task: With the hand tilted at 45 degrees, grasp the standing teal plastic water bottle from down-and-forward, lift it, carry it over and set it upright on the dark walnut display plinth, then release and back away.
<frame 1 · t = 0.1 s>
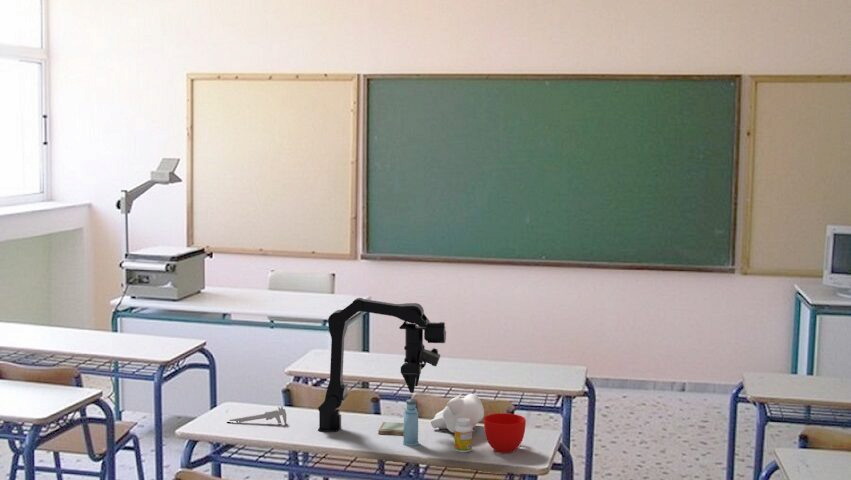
hand: (413, 389, 330), 15 cm above the table, tool pointing down, fingers open, 9 cm apart
ceramic cup: (505, 448, 316), on the table
plinth: (395, 430, 334), on the table
supplement bottle: (463, 450, 314), on the table
caliper: (256, 424, 341), on the table
fox head: (455, 431, 335), on the table
water bottle: (410, 443, 320), on the table
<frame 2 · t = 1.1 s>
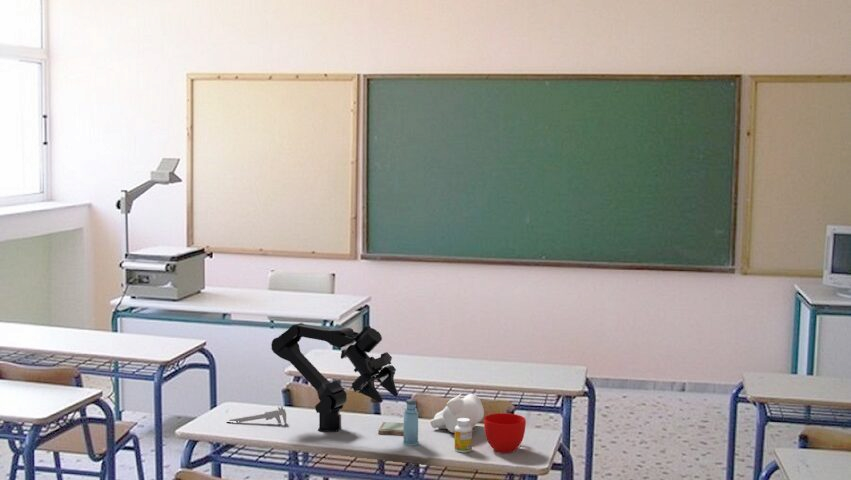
hand: (389, 398, 322), 13 cm above the table, tool tilted 45°, fingers open, 9 cm apart
nothing on the table moved.
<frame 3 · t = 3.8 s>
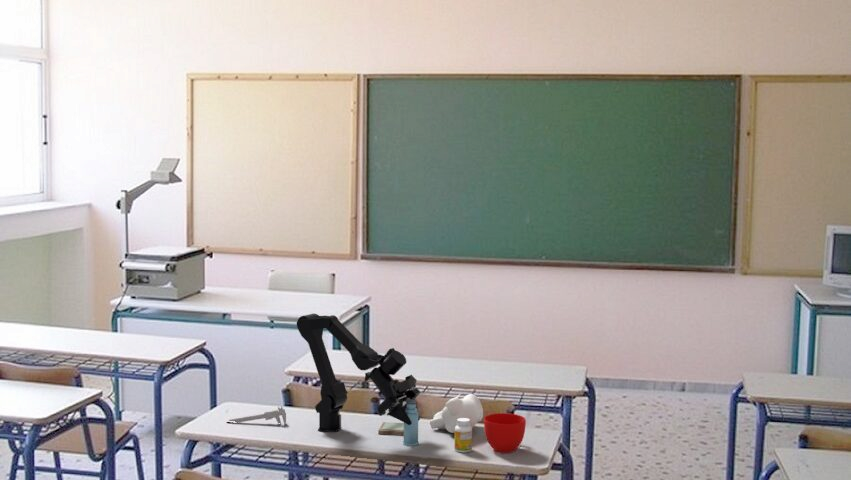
hand: (414, 422, 318), 7 cm above the table, tool tilted 45°, fingers closed on water bottle, 5 cm apart
water bottle: (410, 443, 320), on the table, touching gripper
everything else where it was.
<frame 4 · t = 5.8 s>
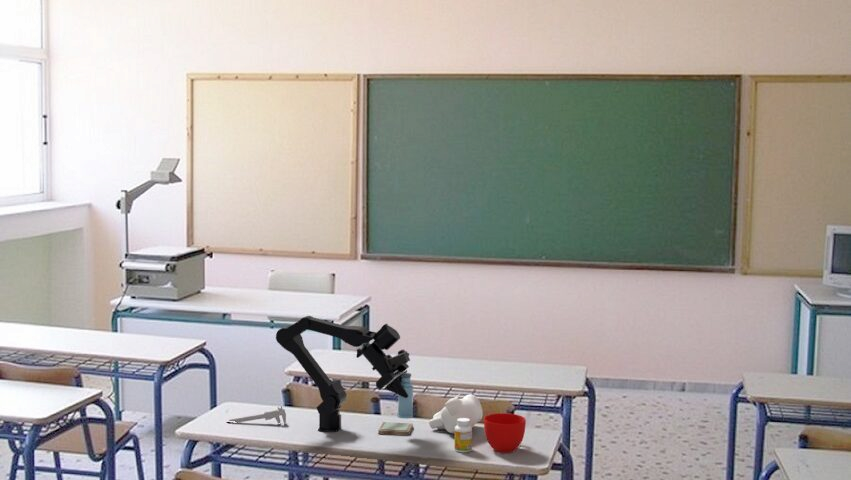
hand: (409, 395, 326), 14 cm above the table, tool tilted 45°, fingers closed on water bottle, 5 cm apart
water bottle: (405, 416, 327), point 7 cm above the table, touching gripper
everything else where it was.
when the fingers open (9 cm above the table, at t = 7.7 s): water bottle stays where it is, resting on plinth.
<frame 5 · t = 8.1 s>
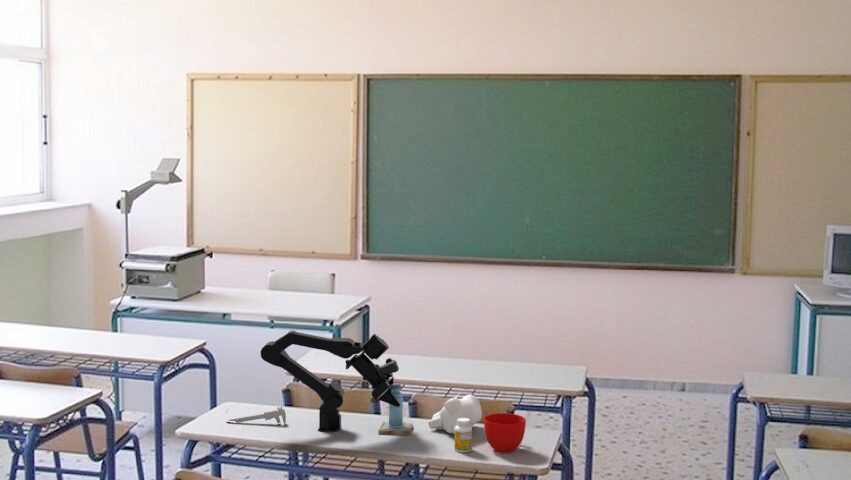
hand: (400, 402, 333), 9 cm above the table, tool tilted 45°, fingers open, 9 cm apart
water bottle: (395, 426, 334), point 1 cm above the table, touching plinth
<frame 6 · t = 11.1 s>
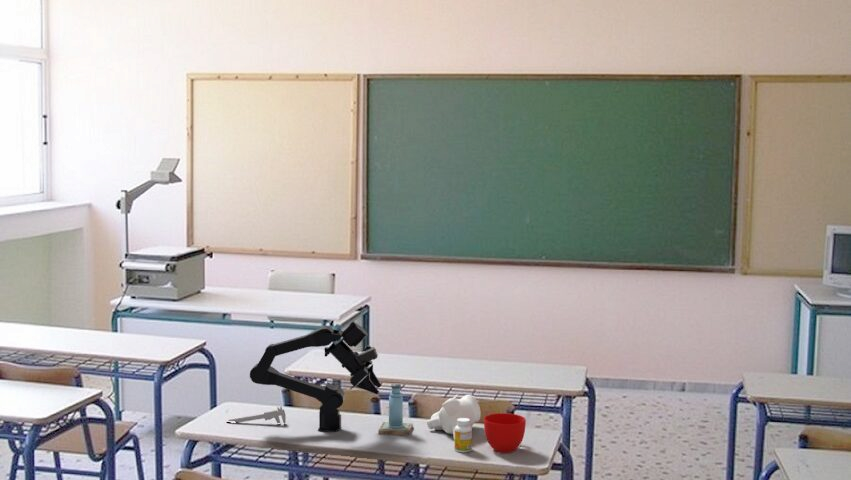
hand: (379, 389, 333), 14 cm above the table, tool tilted 45°, fingers open, 9 cm apart
at the end: water bottle inside the target area on the plinth (0.1 cm from its centre), point 1.4 cm above the plinth's base; water bottle tilted 0°; the gripper is holding nothing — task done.
